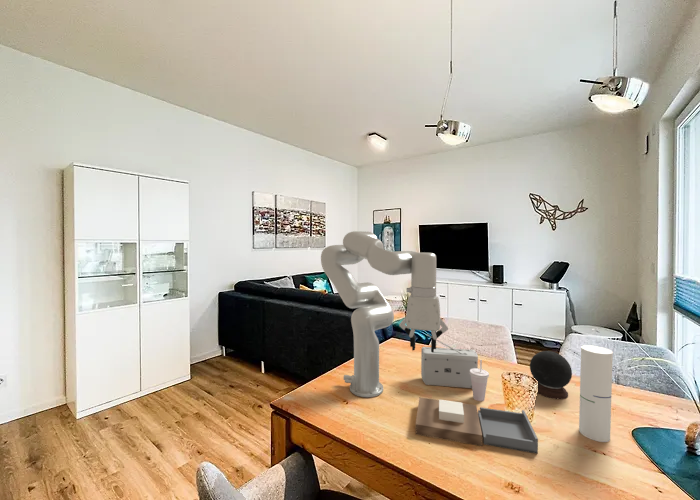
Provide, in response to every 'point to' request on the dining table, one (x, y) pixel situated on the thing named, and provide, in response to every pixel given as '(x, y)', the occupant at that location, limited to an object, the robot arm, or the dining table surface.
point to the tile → (451, 411)
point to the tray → (507, 430)
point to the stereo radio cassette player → (448, 366)
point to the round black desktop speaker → (551, 374)
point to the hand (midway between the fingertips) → (423, 349)
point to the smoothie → (479, 382)
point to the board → (448, 423)
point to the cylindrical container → (595, 392)
